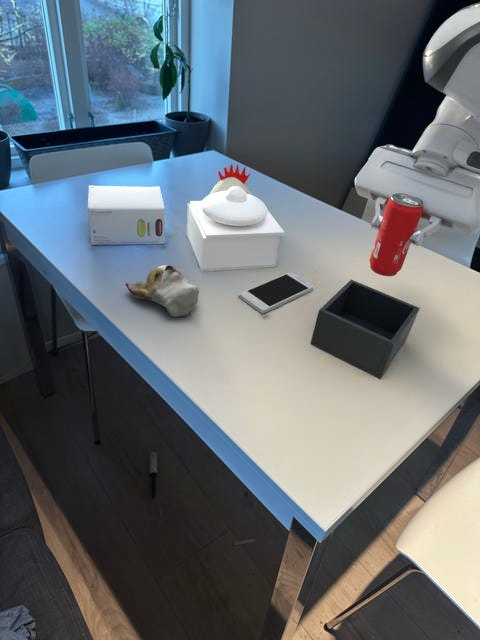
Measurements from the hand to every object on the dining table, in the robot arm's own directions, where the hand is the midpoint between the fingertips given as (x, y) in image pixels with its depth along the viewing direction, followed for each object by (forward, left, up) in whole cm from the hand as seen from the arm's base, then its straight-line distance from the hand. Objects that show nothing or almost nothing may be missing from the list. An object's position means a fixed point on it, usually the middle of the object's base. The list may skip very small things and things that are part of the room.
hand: (394, 235), depth 69 cm
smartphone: (+20, -4, -23) cm, 31 cm away
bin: (0, -1, -23) cm, 23 cm away
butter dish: (+38, -12, -23) cm, 46 cm away
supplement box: (+61, -1, -23) cm, 65 cm away
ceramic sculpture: (+34, +14, -23) cm, 43 cm away
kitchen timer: (+48, -25, -23) cm, 59 cm away
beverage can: (0, -1, -7) cm, 7 cm away
